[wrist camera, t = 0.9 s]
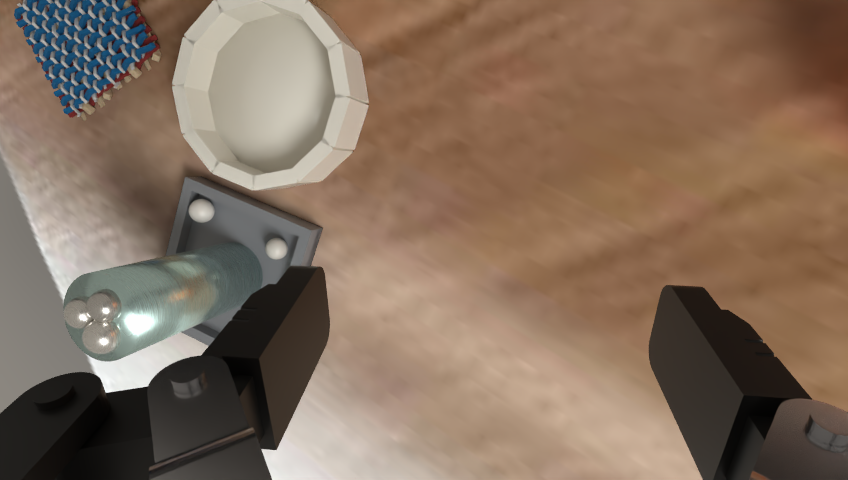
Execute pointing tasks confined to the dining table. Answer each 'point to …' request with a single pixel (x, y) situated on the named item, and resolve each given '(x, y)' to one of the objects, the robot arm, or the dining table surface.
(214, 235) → the parts tray
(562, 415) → the dining table surface
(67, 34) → the woven mat
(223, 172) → the bowl
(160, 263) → the teal cylinder
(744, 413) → the robot arm
